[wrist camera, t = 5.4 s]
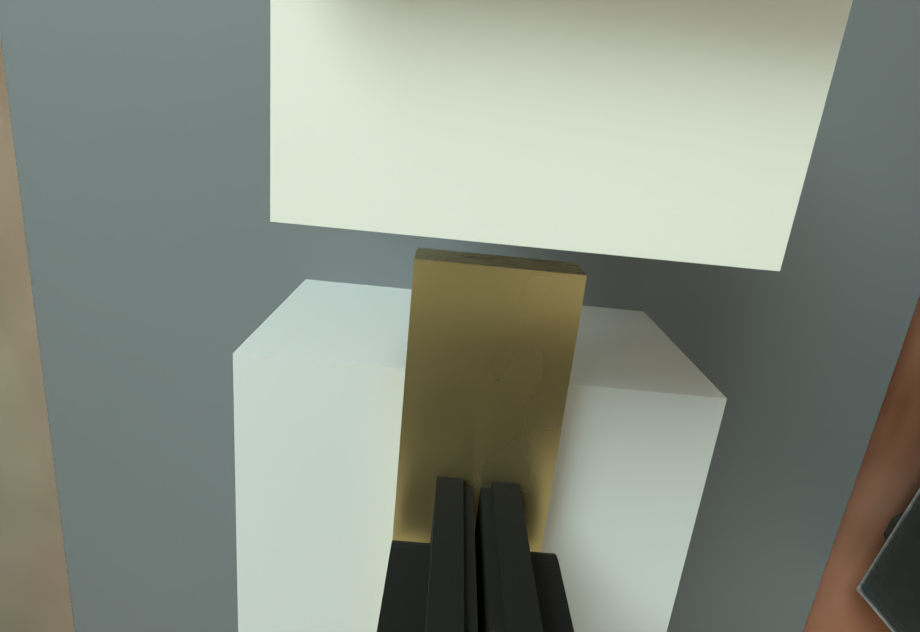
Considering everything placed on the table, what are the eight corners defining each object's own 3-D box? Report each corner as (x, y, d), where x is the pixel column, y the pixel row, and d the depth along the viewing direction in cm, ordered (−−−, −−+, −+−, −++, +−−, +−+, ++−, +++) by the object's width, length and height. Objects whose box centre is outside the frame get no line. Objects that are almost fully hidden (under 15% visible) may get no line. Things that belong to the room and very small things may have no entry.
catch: (395, -115, 14) (200, -820, 4) (643, -87, 15) (1162, -678, 4) (380, 163, 16) (225, 246, 6) (597, 186, 17) (853, 305, 6)
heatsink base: (9, -228, 15) (-666, -751, 6) (1013, -110, 16) (1751, -419, 7) (109, 699, 25) (-95, 1036, 16) (733, 746, 25) (885, 1093, 16)
